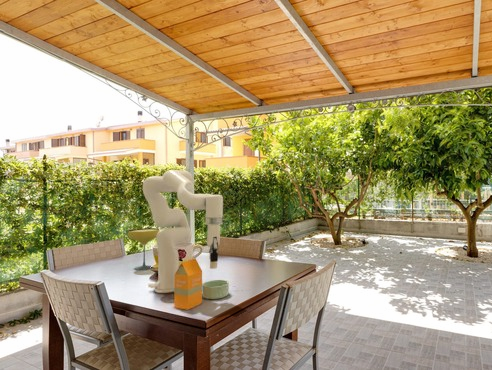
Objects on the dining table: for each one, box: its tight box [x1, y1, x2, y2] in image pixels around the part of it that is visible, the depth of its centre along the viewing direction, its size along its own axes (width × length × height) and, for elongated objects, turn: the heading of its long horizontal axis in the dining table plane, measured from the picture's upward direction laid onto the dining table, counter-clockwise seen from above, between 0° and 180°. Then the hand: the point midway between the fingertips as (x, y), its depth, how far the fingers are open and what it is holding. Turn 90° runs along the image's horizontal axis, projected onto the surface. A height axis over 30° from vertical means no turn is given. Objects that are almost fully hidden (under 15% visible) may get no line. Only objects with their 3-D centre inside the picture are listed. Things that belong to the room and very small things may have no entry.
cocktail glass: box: [127, 227, 161, 271], centre depth 208 cm, size 18×18×25 cm
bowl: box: [202, 279, 230, 300], centre depth 155 cm, size 12×12×6 cm
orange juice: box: [173, 258, 203, 311], centre depth 142 cm, size 8×9×20 cm
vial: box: [209, 248, 218, 270], centre depth 148 cm, size 3×3×9 cm
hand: (213, 260), depth 148 cm, fingers closed on vial, 3 cm apart
